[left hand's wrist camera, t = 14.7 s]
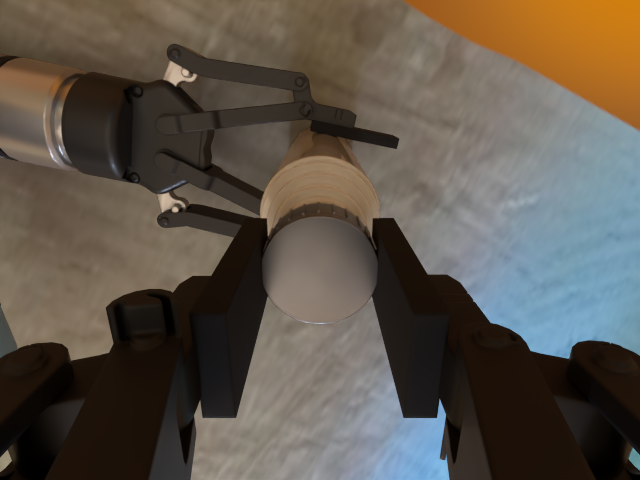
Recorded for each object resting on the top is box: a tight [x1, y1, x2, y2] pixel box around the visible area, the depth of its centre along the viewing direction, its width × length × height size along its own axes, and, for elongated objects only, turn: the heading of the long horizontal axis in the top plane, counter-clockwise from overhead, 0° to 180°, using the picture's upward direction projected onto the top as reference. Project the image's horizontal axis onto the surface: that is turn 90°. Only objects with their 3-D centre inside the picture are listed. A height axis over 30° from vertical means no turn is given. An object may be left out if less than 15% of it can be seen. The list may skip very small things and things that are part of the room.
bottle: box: [260, 128, 380, 238], centre depth 25 cm, size 6×6×25 cm
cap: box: [262, 202, 378, 324], centre depth 13 cm, size 4×4×2 cm
